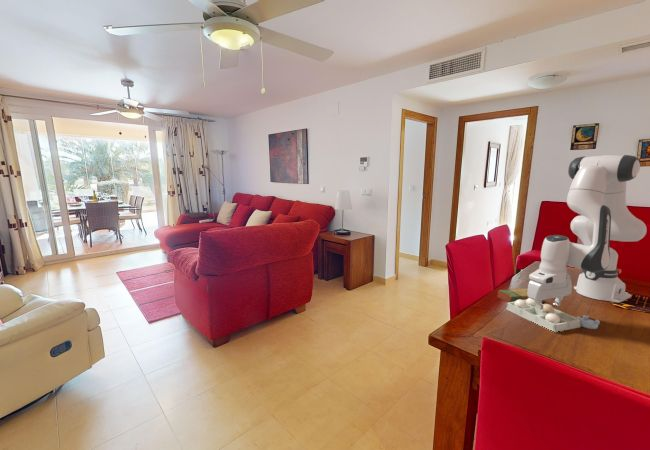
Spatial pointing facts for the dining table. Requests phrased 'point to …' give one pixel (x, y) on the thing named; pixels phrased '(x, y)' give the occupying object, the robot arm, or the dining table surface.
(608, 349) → the dining table surface
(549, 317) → the egg
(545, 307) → the egg
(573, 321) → the tray
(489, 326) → the dining table surface
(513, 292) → the carton
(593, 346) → the dining table surface
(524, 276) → the dining table surface
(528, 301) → the egg
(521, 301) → the egg
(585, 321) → the egg cup
